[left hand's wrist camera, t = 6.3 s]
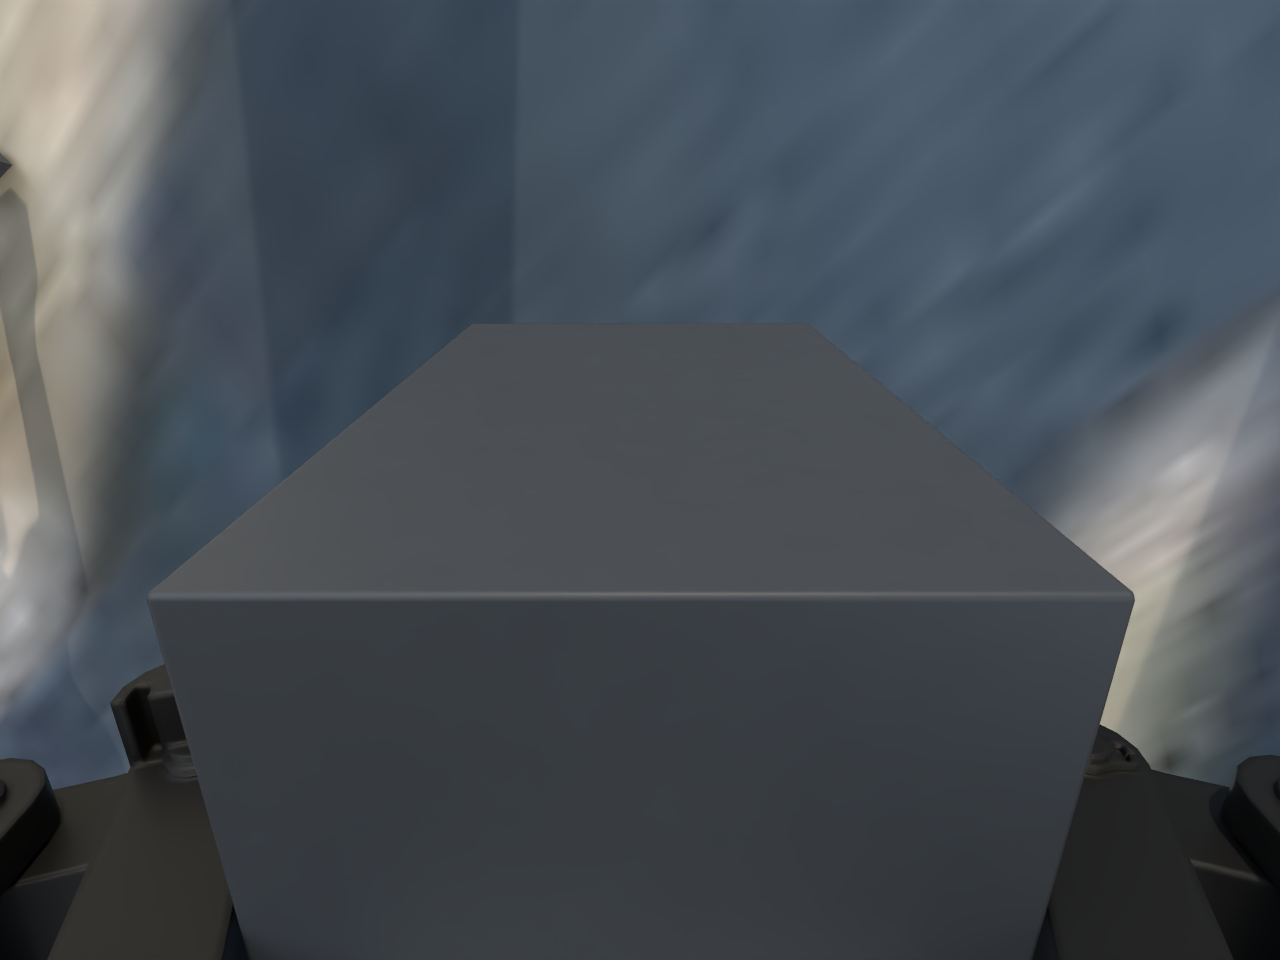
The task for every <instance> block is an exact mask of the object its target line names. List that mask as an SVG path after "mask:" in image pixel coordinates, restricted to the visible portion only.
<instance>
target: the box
mask: <svg viewBox="0 0 1280 960" xmlns="http://www.w3.org/2000/svg"><path fill="white" fill-rule="evenodd" d="M1134 601H1135V599H1134V594H1133V592H1132V591H1131V590H1130V589H1128V588H1127V587H1126V586H1125V585H1123V584H1122V583H1121V582H1120V581H1119V580H1117V579H1116V578H1115V577H1114V576H1113V575H1111V574H1110V573H1109V572H1108V571H1107V570H1105V569H1104V568H1103V567H1102V566H1101V565H1099V564H1098V563H1097V562H1096V561H1094V560H1093V559H1092V558H1091V557H1090V556H1088V555H1087V554H1086V553H1085V552H1084V551H1082V550H1081V549H1080V548H1079V547H1078V546H1076V545H1075V544H1074V543H1073V542H1071V541H1070V540H1069V539H1068V538H1067V537H1065V536H1064V535H1063V534H1062V533H1061V532H1059V531H1058V530H1057V529H1056V528H1055V527H1053V526H1052V525H1051V524H1050V523H1049V522H1047V521H1046V520H1045V519H1044V518H1042V517H1041V516H1040V515H1039V514H1038V513H1036V512H1035V511H1034V510H1033V509H1032V508H1030V507H1029V506H1028V505H1027V504H1026V503H1024V502H1023V501H1022V500H1021V499H1019V498H1018V497H1017V496H1016V495H1015V494H1013V493H1012V492H1011V491H1010V490H1009V489H1007V488H1006V487H1005V486H1004V485H1003V484H1001V483H1000V482H999V481H998V480H997V479H995V478H994V477H993V476H992V475H990V474H989V473H988V472H987V471H986V470H984V469H983V468H982V467H981V466H980V465H978V464H977V463H976V462H975V461H974V460H972V459H971V458H970V457H969V456H968V455H966V454H965V453H964V452H963V451H961V450H960V449H959V448H958V447H957V446H955V445H954V444H953V443H952V442H951V441H949V440H948V439H947V438H946V437H945V436H943V435H942V434H941V433H940V432H938V431H937V430H936V429H935V428H934V427H932V426H931V425H930V424H929V423H928V422H926V421H925V420H924V419H923V418H922V417H920V416H919V415H918V414H917V413H916V412H914V411H913V410H912V409H911V408H909V407H908V406H907V405H906V404H905V403H903V402H902V401H901V400H900V399H899V398H897V397H896V396H895V395H894V394H893V393H891V392H890V391H889V390H888V389H886V388H885V387H884V386H883V385H882V384H880V383H879V382H878V381H877V380H876V379H874V378H873V377H872V376H871V375H870V374H868V373H867V372H866V371H865V370H864V369H862V368H861V367H860V366H859V365H857V364H856V363H855V362H854V361H853V360H851V359H850V358H849V357H848V356H847V355H845V354H844V353H843V352H842V351H841V350H839V349H838V348H837V347H836V346H834V345H833V344H832V343H831V342H830V341H828V340H827V339H826V338H825V337H824V336H822V335H821V334H820V333H819V332H818V331H816V330H815V329H814V328H813V327H812V326H810V325H809V324H471V325H470V326H469V327H467V328H466V329H465V330H464V331H463V332H461V333H460V334H459V335H458V336H457V337H455V338H454V339H453V340H452V341H451V342H449V343H448V344H447V345H446V346H445V347H443V348H442V349H441V350H440V351H439V352H437V353H436V354H435V355H434V356H433V357H431V358H430V359H429V360H428V361H427V362H425V363H424V364H423V365H422V366H421V367H419V368H418V369H417V370H416V371H415V372H413V373H412V374H411V375H410V376H409V377H407V378H406V379H405V380H404V381H403V382H401V383H400V384H399V385H398V386H397V387H395V388H394V389H393V390H392V391H391V392H389V393H388V394H387V395H386V396H385V397H383V398H382V399H381V400H380V401H379V402H377V403H376V404H375V405H374V406H372V407H371V408H370V409H369V410H368V411H366V412H365V413H364V414H363V415H362V416H360V417H359V418H358V419H357V420H356V421H354V422H353V423H352V424H351V425H350V426H348V427H347V428H346V429H345V430H344V431H342V432H341V433H340V434H339V435H338V436H336V437H335V438H334V439H333V440H332V441H330V442H329V443H328V444H327V445H326V446H324V447H323V448H322V449H321V450H320V451H318V452H317V453H316V454H315V455H314V456H312V457H311V458H310V459H309V460H308V461H306V462H305V463H304V464H303V465H302V466H300V467H299V468H298V469H297V470H296V471H294V472H293V473H292V474H291V475H290V476H288V477H287V478H286V479H285V480H284V481H282V482H281V483H280V484H279V485H277V486H276V487H275V488H274V489H273V490H271V491H270V492H269V493H268V494H267V495H265V496H264V497H263V498H262V499H261V500H259V501H258V502H257V503H256V504H255V505H253V506H252V507H251V508H250V509H249V510H247V511H246V512H245V513H244V514H243V515H241V516H240V517H239V518H238V519H237V520H235V521H234V522H233V523H232V524H231V525H229V526H228V527H227V528H226V529H225V530H223V531H222V532H221V533H220V534H219V535H217V536H216V537H215V538H214V539H213V540H211V541H210V542H209V543H208V544H207V545H205V546H204V547H203V548H202V549H201V550H199V551H198V552H197V553H196V554H195V555H193V556H192V557H191V558H190V559H189V560H187V561H186V562H185V563H184V564H182V565H181V566H180V567H179V568H178V569H176V570H175V571H174V572H173V573H172V574H170V575H169V576H168V577H167V578H166V579H164V580H163V581H162V582H161V583H160V584H158V585H157V586H156V587H155V588H154V589H152V590H151V591H150V592H149V594H148V598H147V602H148V606H149V609H150V613H151V616H152V620H153V623H154V627H155V630H156V634H157V637H158V641H159V644H160V648H161V651H162V655H163V658H164V662H165V665H166V669H167V672H168V676H169V679H170V683H171V687H172V690H173V694H174V697H175V701H176V704H177V708H178V711H179V715H180V718H181V722H182V725H183V729H184V732H185V736H186V739H187V743H188V746H189V750H190V753H191V757H192V760H193V764H194V767H195V771H196V774H197V778H198V782H199V785H200V789H201V792H202V796H203V799H204V803H205V806H206V810H207V813H208V817H209V820H210V824H211V827H212V831H213V834H214V838H215V841H216V845H217V848H218V852H219V855H220V859H221V862H222V866H223V870H224V873H225V877H226V880H227V884H228V887H229V891H230V894H231V898H232V901H233V905H234V908H235V912H236V915H237V919H238V922H239V926H240V929H241V933H242V936H243V940H244V943H245V947H246V950H247V954H248V957H249V960H1032V959H1033V955H1034V952H1035V948H1036V945H1037V941H1038V938H1039V934H1040V931H1041V927H1042V924H1043V920H1044V917H1045V913H1046V910H1047V906H1048V903H1049V899H1050V896H1051V892H1052V889H1053V885H1054V882H1055V878H1056V875H1057V871H1058V868H1059V864H1060V861H1061V857H1062V854H1063V850H1064V847H1065V843H1066V840H1067V836H1068V833H1069V829H1070V826H1071V822H1072V819H1073V815H1074V812H1075V808H1076V805H1077V801H1078V798H1079V794H1080V791H1081V787H1082V784H1083V780H1084V777H1085V773H1086V770H1087V766H1088V763H1089V759H1090V756H1091V752H1092V749H1093V745H1094V742H1095V738H1096V735H1097V731H1098V728H1099V724H1100V721H1101V717H1102V714H1103V710H1104V707H1105V703H1106V700H1107V696H1108V693H1109V689H1110V686H1111V682H1112V679H1113V675H1114V672H1115V668H1116V665H1117V661H1118V658H1119V654H1120V651H1121V647H1122V644H1123V640H1124V636H1125V633H1126V629H1127V626H1128V622H1129V619H1130V615H1131V612H1132V608H1133V605H1134Z"/></svg>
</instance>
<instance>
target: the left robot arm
mask: <svg viewBox="0 0 1280 960" xmlns="http://www.w3.org/2000/svg"><path fill="white" fill-rule="evenodd" d="M110 705H111V708H112V711H113V714H114V717H115V720H116V723H117V726H118V729H119V732H120V735H121V738H122V741H123V745H124V748H125V751H126V754H127V757H128V760H129V763H130V766H131V767H130V769H129V772H128V773H126V774H122V775H119V776H115V777H111V778H106V779H102V780H97V781H92V782H88V783H83V784H79V785H74V786H70V787H65V788H60V789H56V790H52V788H51V785H50V782H49V780H48V777H47V774H46V772H45V769H44V768H42V767H41V766H40V765H38V764H37V763H36V762H34V761H33V760H25V759H15V758H9V759H2V760H0V960H249V957H248V954H247V950H246V947H245V943H244V940H243V936H242V933H241V929H240V926H239V922H238V919H237V915H236V912H235V908H234V905H233V901H232V898H231V894H230V891H229V887H228V884H227V880H226V877H225V873H224V870H223V866H222V862H221V859H220V855H219V852H218V848H217V845H216V841H215V838H214V834H213V831H212V827H211V824H210V820H209V817H208V813H207V810H206V806H205V803H204V799H203V796H202V792H201V789H200V785H199V782H198V778H197V774H196V771H195V767H194V764H193V760H192V757H191V753H190V750H189V746H188V743H187V739H186V736H185V732H184V729H183V725H182V722H181V718H180V715H179V711H178V708H177V704H176V701H175V697H174V694H173V690H172V687H171V683H170V679H169V676H168V672H167V669H166V665H165V664H164V665H162V666H159V667H157V668H155V669H152V670H150V671H148V672H146V673H144V674H142V675H141V676H139V677H138V678H136V679H135V680H133V681H132V682H130V683H129V684H128V685H126V686H125V687H123V688H122V690H121V691H120V692H119V693H118V694H117V695H116V697H115V698H114V699H113V700H112V701H111V703H110ZM1032 960H1280V756H1274V755H1266V756H1256V757H1249V758H1248V759H1246V760H1245V761H1243V762H1242V763H1241V764H1239V765H1238V766H1237V768H1236V771H1235V774H1234V776H1233V779H1232V782H1231V784H1230V787H1226V786H1221V785H1216V784H1212V783H1207V782H1203V781H1198V780H1193V779H1189V778H1184V777H1180V776H1175V775H1170V774H1166V773H1162V772H1159V771H1155V770H1152V769H1151V768H1150V766H1149V764H1148V763H1147V762H1146V760H1145V759H1144V757H1143V756H1142V755H1141V753H1140V752H1139V750H1138V749H1137V748H1136V747H1134V746H1133V745H1132V744H1131V743H1129V742H1128V741H1127V740H1125V739H1124V738H1123V737H1122V736H1120V735H1119V734H1118V733H1116V732H1114V731H1112V730H1110V729H1108V728H1106V727H1104V726H1102V725H1100V724H1099V728H1098V731H1097V735H1096V738H1095V742H1094V745H1093V749H1092V752H1091V756H1090V759H1089V763H1088V766H1087V770H1086V773H1085V777H1084V780H1083V784H1082V787H1081V791H1080V794H1079V798H1078V801H1077V805H1076V808H1075V812H1074V815H1073V819H1072V822H1071V826H1070V829H1069V833H1068V836H1067V840H1066V843H1065V847H1064V850H1063V854H1062V857H1061V861H1060V864H1059V868H1058V871H1057V875H1056V878H1055V882H1054V885H1053V889H1052V892H1051V896H1050V899H1049V903H1048V906H1047V910H1046V913H1045V917H1044V920H1043V924H1042V927H1041V931H1040V934H1039V938H1038V941H1037V945H1036V948H1035V952H1034V955H1033V959H1032Z"/></svg>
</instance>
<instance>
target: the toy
mask: <svg viewBox="0 0 1280 960" xmlns="http://www.w3.org/2000/svg"><path fill="white" fill-rule="evenodd" d="M11 165H12V164H11V163H10V162H9V161H8V160H7V159H6V158H5V157H4V156H3V155H2V154H1V153H0V177H1V176H2V175H3V174H4V173H5V172H6V171H7V170H8V168H9V167H10V166H11Z"/></svg>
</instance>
